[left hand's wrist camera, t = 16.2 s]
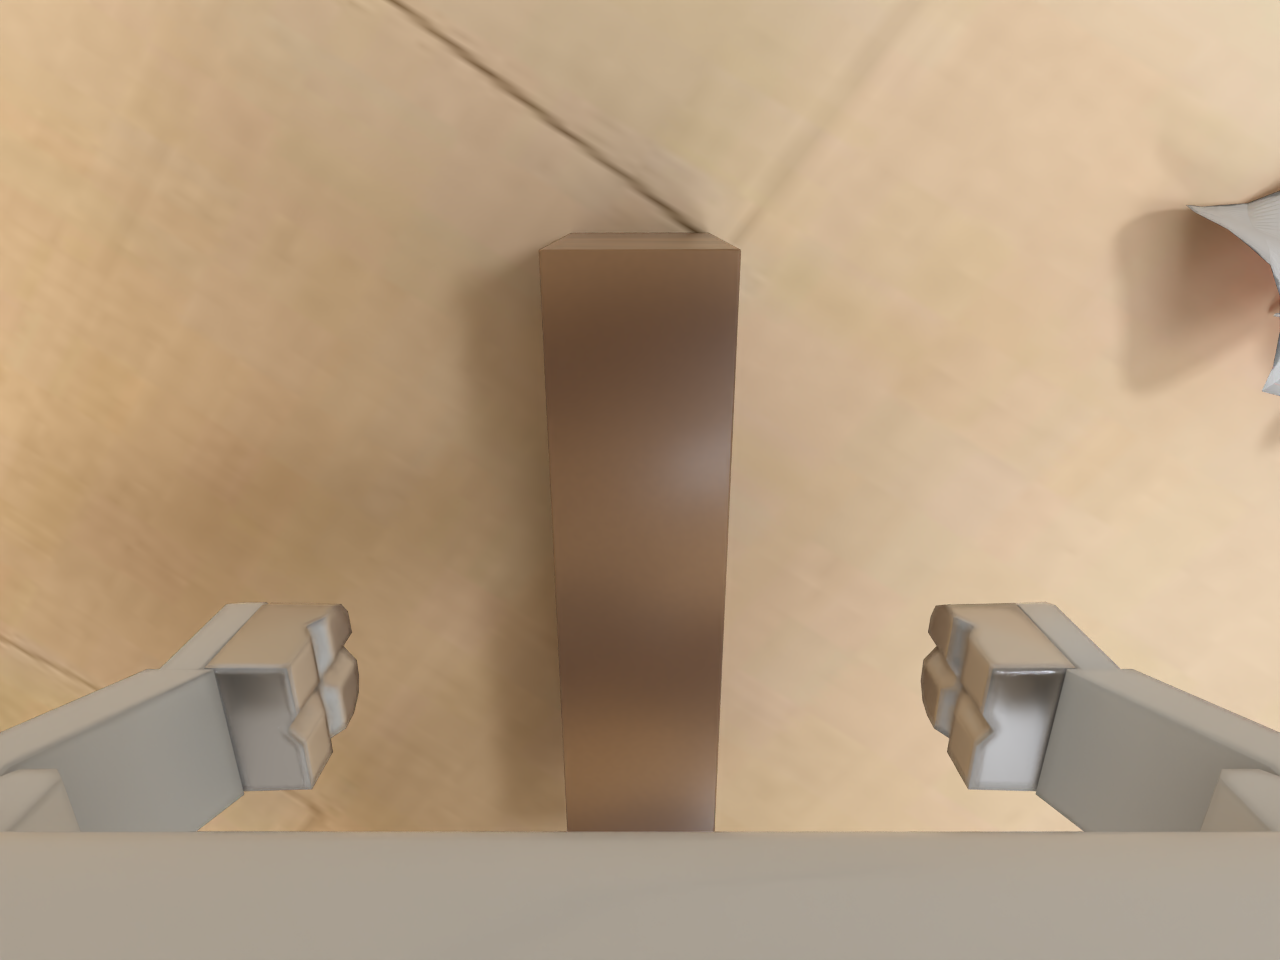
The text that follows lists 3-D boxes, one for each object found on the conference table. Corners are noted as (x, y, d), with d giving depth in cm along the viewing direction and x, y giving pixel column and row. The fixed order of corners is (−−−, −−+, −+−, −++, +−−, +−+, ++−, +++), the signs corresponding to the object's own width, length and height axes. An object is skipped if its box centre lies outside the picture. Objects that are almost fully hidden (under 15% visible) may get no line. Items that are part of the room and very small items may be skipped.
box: (569, 233, 30) (538, 249, 21) (709, 232, 30) (741, 249, 21) (588, 771, 40) (572, 946, 31) (693, 771, 40) (709, 945, 31)
